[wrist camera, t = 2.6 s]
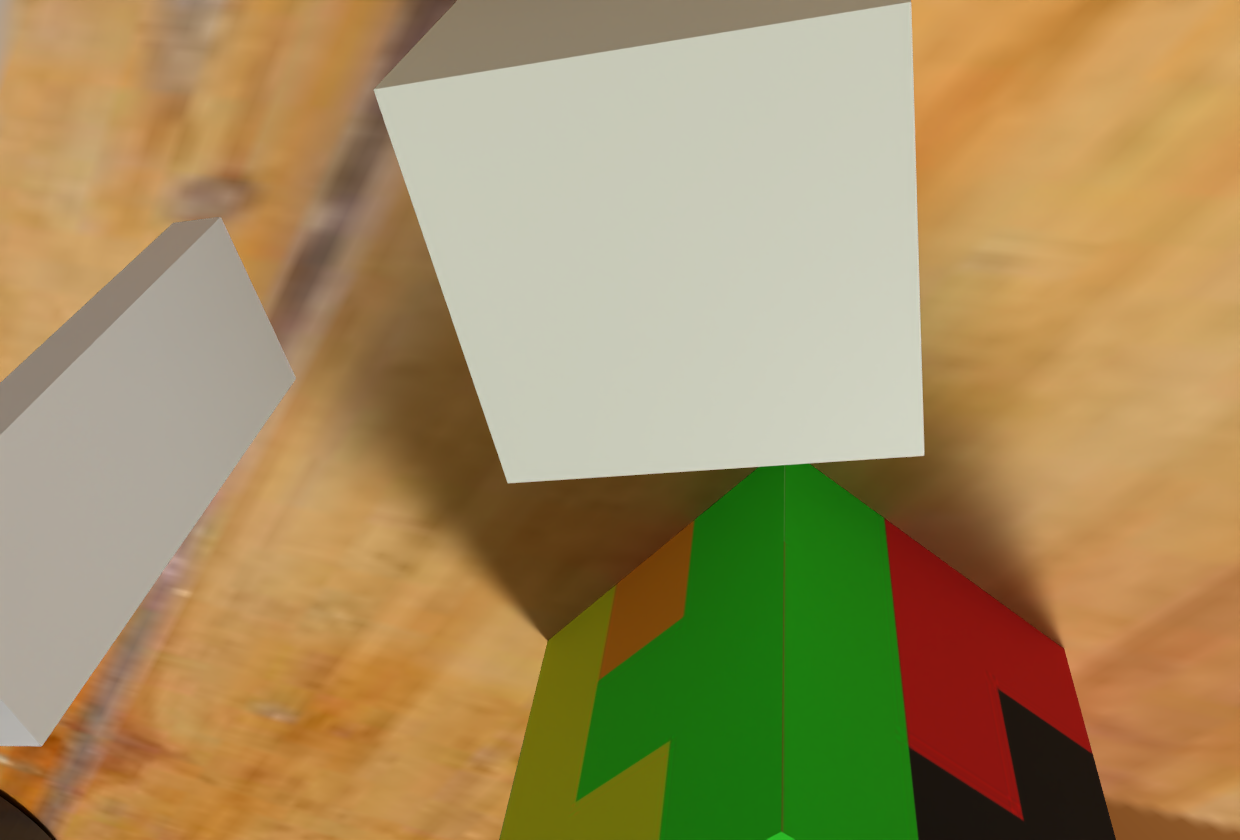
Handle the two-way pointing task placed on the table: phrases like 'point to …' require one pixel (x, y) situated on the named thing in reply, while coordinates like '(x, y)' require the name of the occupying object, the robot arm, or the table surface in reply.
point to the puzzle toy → (802, 693)
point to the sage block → (672, 227)
